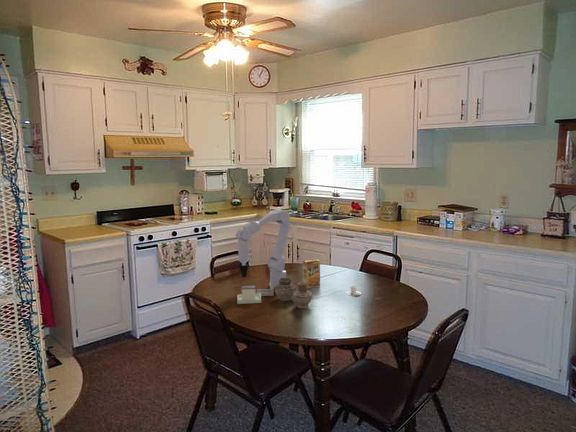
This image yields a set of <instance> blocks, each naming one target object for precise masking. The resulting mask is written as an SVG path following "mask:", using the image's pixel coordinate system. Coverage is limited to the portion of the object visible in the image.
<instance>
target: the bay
mask: <svg viewBox="0 0 576 432" xmlns="http://www.w3.org/2000/svg"><path fill="white" fill-rule="evenodd" d="M256 294H261V297H268V296H269V297H273V296H274V295H275V289H274V288H273V285H269V288H262V289H261V288H257V289H256Z"/></svg>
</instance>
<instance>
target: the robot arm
mask: <svg viewBox="0 0 576 432" xmlns="http://www.w3.org/2000/svg"><path fill="white" fill-rule="evenodd" d="M290 218H291V215H290V213H289V212H288V211H287V210H285V209H284V210H282V209H279V208H274V209H272V210H271V211H269V213H267V214H266V215H265V216H262V217H261V218H260V219H259V220H258V221H255V220H251V221H250V222H249V224H247V225H244V226H243V228H238V229H237V231H236V233H235V237H236V238H237V247H238V248H237V249H238V251H237V253H238V254H237V255H238V258H236V261H238V262H239V264H238V268H239V270H240V274H241V278H247V274H248V270H249V267H250V264H249V263H250V238H251V236H252V235H254V234H255V233H257V232H259V231H260V230H261V227H263V226H265V225H267V224H268V223H270V222H273V221H275V222H276V223H277V224H278V225H279V228H278V234H277V238H276V243H275V247H274V251H273V252H272V254H271V255H270V257H269V259H268V261H267V268H269V281H270V282H268V284H269V286H270V285H273V288H274V287H275V286H277V285H278V284H280V283H279V279H280V278H287V271H286V270H285V267H286V263H285V261H286V259H285V256H284V253H285V249H286V245H287V240H288V236H289V232H290V229H291V228H290V227H291V222H290Z"/></svg>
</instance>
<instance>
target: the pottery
mask: <svg viewBox="0 0 576 432" xmlns="http://www.w3.org/2000/svg"><path fill="white" fill-rule="evenodd" d="M291 281H292V279H291V278H290V277H286V278H280V279H279V283H280V284H278V285H277V286H275V287H274V293H275V294H276V295H277V296H278V297H279V300H280V301H283V302H286V301H287V302H288V301H291V299H292V297H293V300H294V302H295V303H296V304H297V305H296V306H297V307H296V308H298V309H307V308H309V306H310V305H309V304H310V303H311V302H312V300H313V297H314V296H313V293H312V291H310V290H308V288H307V285H308V283H306V282H304V281H301V282H300V281H299V282H297V286H295V285H294V284H292V283H291ZM297 287H298V289H297Z"/></svg>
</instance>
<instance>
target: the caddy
mask: <svg viewBox="0 0 576 432" xmlns="http://www.w3.org/2000/svg"><path fill="white" fill-rule="evenodd" d="M240 292H241V294H242V300H251V299H256V294H257V290H256V285H241V288H240Z"/></svg>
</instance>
